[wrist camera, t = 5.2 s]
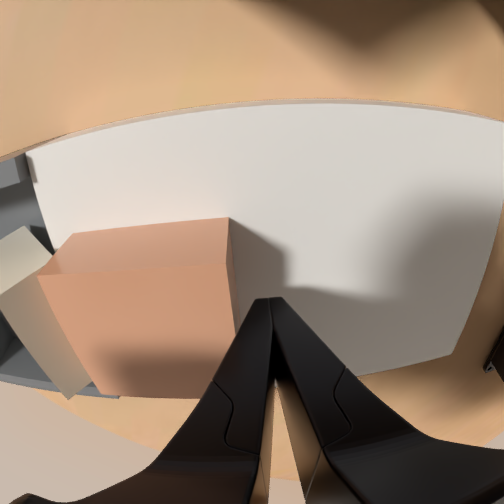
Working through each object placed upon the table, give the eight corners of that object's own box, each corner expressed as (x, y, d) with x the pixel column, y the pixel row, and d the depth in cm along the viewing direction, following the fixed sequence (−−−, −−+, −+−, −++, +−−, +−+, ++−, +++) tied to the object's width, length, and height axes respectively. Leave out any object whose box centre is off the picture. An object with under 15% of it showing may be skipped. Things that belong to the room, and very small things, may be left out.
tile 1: (55, 258, 8) (-6, 299, 7) (112, 365, 11) (68, 400, 9) (24, 225, 11) (-19, 252, 9) (65, 312, 14) (30, 337, 12)
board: (466, 111, 10) (514, 125, 7) (428, 316, 15) (451, 354, 13) (69, 133, 10) (25, 152, 7) (136, 345, 15) (123, 390, 13)
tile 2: (228, 217, 9) (225, 262, 7) (243, 343, 11) (244, 397, 9) (72, 233, 9) (36, 275, 7) (117, 346, 11) (101, 394, 9)
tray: (67, 134, 10) (13, 157, 7) (134, 345, 15) (119, 398, 12) (-55, 181, 10) (-97, 209, 7) (15, 340, 15) (-7, 379, 12)
